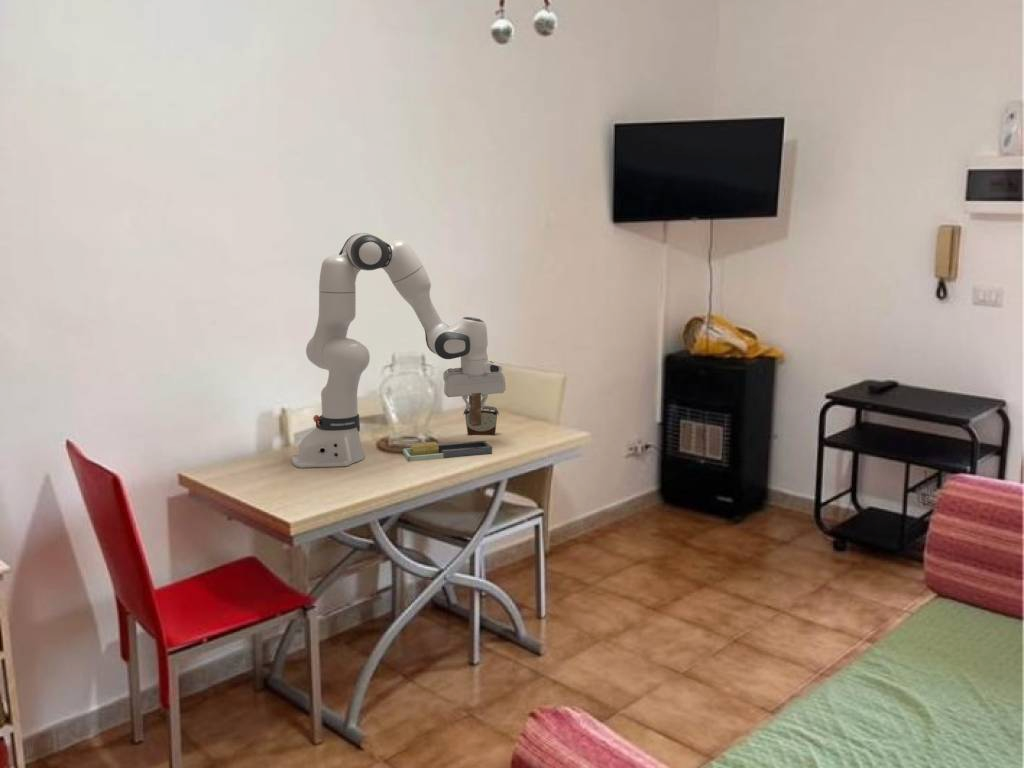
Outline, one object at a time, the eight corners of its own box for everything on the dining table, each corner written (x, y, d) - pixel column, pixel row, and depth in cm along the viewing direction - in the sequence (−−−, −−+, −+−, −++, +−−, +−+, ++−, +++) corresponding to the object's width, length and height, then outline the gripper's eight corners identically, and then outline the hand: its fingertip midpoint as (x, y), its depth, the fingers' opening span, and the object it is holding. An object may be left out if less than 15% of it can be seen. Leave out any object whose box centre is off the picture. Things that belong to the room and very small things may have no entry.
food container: (501, 433, 324) (501, 405, 322) (499, 438, 318) (499, 409, 316) (466, 432, 326) (465, 405, 324) (463, 437, 320) (463, 409, 318)
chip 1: (413, 459, 291) (413, 446, 290) (411, 455, 295) (410, 443, 294) (426, 458, 292) (425, 445, 292) (423, 454, 296) (423, 442, 295)
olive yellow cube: (426, 458, 292) (426, 445, 292) (423, 454, 296) (423, 442, 295) (438, 456, 294) (438, 444, 293) (435, 453, 297) (435, 441, 297)
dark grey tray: (443, 461, 291) (443, 452, 290) (436, 453, 300) (436, 444, 300) (492, 456, 296) (492, 447, 295) (484, 448, 305) (484, 440, 304)
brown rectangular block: (472, 426, 305) (471, 393, 302) (469, 423, 308) (468, 390, 306) (481, 425, 305) (480, 392, 303) (478, 422, 309) (477, 390, 307)
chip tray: (408, 464, 288) (408, 456, 287) (402, 455, 297) (402, 448, 297) (443, 461, 291) (443, 453, 290) (436, 453, 300) (436, 445, 300)
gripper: (445, 370, 297) (446, 412, 300) (506, 366, 303) (507, 407, 306) (441, 367, 303) (442, 408, 306) (501, 363, 309) (501, 403, 311)
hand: (475, 408), depth 306 cm, fingers closed on brown rectangular block, 3 cm apart
